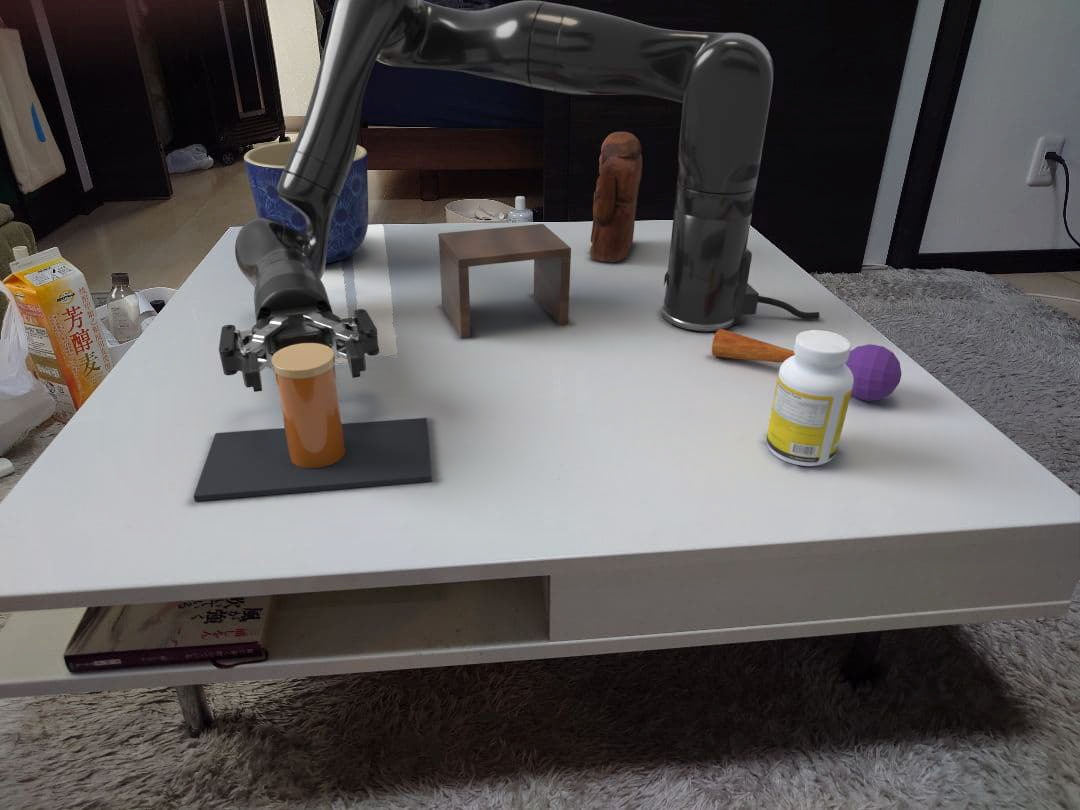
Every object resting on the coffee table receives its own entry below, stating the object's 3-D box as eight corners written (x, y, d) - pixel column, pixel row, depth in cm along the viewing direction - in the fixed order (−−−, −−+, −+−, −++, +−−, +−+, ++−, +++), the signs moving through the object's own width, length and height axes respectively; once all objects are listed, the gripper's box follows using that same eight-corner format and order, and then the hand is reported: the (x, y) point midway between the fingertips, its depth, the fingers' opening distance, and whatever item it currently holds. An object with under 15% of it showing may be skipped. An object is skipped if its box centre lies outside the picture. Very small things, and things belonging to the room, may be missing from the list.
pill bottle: (821, 431, 77) (846, 325, 71) (845, 469, 71) (875, 357, 65) (756, 432, 77) (776, 325, 71) (775, 469, 71) (799, 357, 65)
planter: (290, 283, 108) (272, 173, 100) (244, 250, 119) (225, 149, 111) (396, 258, 117) (388, 155, 109) (344, 230, 128) (334, 135, 121)
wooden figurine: (599, 238, 127) (606, 124, 118) (637, 242, 126) (647, 127, 117) (584, 262, 117) (590, 139, 108) (625, 266, 116) (635, 143, 107)
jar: (348, 435, 74) (336, 341, 69) (345, 466, 69) (332, 368, 64) (291, 439, 73) (275, 344, 68) (285, 471, 68) (267, 372, 63)
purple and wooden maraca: (730, 313, 92) (911, 345, 82) (723, 362, 94) (899, 398, 83) (711, 321, 87) (900, 356, 77) (704, 372, 89) (888, 412, 79)
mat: (426, 422, 77) (426, 417, 77) (431, 481, 69) (431, 475, 68) (216, 438, 74) (215, 432, 74) (194, 501, 66) (193, 495, 65)
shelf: (541, 294, 106) (543, 223, 101) (568, 323, 98) (571, 247, 93) (441, 307, 102) (438, 233, 97) (461, 338, 94) (458, 259, 89)
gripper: (213, 279, 77) (212, 348, 64) (357, 264, 82) (384, 326, 69) (227, 346, 81) (229, 424, 68) (364, 329, 85) (391, 399, 72)
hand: (307, 375), depth 68 cm, fingers open, 8 cm apart
